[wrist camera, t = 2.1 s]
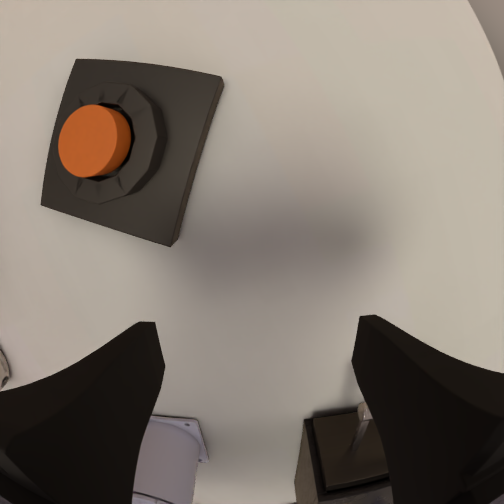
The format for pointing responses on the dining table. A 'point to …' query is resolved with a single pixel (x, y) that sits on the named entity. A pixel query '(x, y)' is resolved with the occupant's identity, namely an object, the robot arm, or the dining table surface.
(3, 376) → the supplement can
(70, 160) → the stop button
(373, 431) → the dark drawer with handle
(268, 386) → the dining table surface
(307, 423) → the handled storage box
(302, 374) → the dining table surface
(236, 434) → the dining table surface
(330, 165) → the dining table surface
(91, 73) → the block
